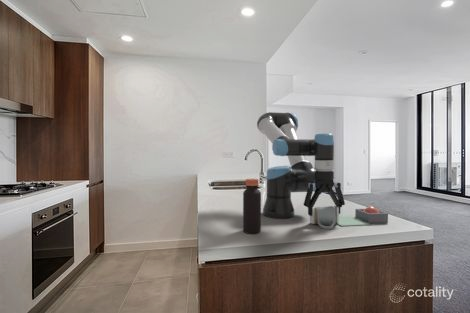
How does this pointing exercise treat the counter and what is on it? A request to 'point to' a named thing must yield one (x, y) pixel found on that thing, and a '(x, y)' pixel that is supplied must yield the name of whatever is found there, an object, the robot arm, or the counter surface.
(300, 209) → the counter surface
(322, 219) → the ceramic mug
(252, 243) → the counter surface
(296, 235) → the counter surface
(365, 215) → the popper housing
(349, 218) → the sage square
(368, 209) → the red dome
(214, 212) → the counter surface
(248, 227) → the bottle
